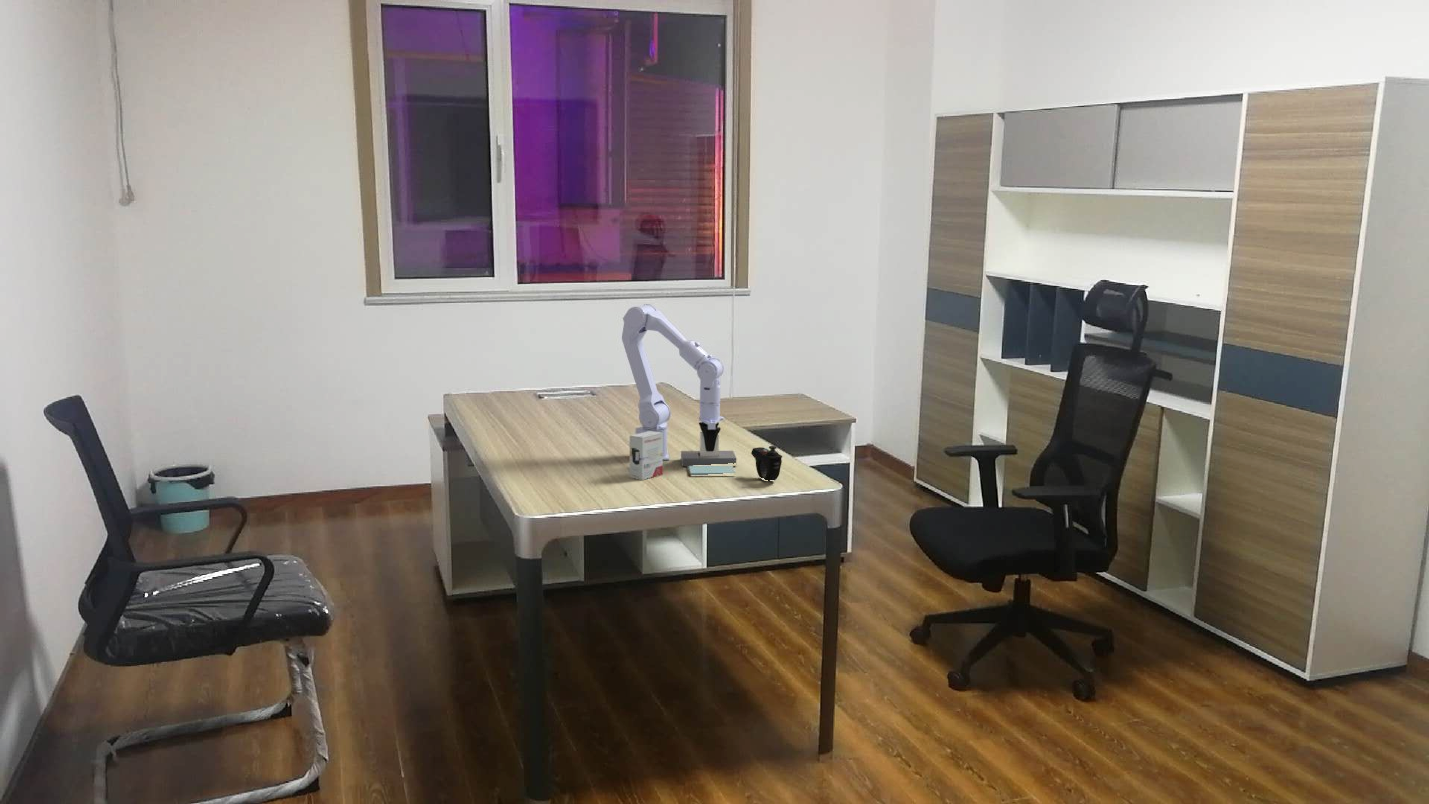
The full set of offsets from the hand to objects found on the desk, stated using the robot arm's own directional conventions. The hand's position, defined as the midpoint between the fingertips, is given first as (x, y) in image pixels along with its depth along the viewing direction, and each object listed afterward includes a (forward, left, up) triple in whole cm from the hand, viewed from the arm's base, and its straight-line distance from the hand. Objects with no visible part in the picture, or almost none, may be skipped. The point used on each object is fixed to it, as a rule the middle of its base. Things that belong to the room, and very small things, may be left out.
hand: (709, 449), depth 311 cm
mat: (0, -11, -4) cm, 12 cm away
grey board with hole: (0, 0, -4) cm, 4 cm away
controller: (+14, -19, -4) cm, 24 cm away
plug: (0, 0, -3) cm, 3 cm away
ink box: (-18, -14, -4) cm, 23 cm away
